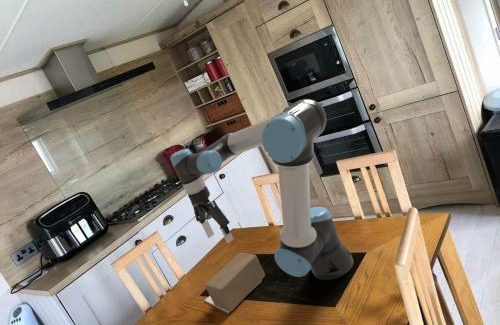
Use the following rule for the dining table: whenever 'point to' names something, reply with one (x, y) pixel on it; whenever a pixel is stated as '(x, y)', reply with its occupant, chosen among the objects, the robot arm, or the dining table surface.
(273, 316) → the dining table surface
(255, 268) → the wooden block
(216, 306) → the grey mat
